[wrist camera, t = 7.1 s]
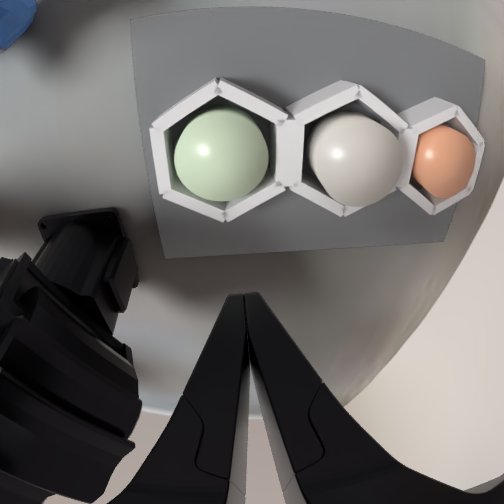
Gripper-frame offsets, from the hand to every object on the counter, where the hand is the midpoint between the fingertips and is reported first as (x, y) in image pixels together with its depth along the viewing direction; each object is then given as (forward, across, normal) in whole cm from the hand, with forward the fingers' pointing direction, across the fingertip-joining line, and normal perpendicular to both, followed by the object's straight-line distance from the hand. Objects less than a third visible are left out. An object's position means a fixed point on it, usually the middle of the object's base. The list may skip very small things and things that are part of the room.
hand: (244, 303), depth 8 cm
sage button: (+9, +1, -2) cm, 9 cm away
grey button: (+8, -5, -2) cm, 10 cm away
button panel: (+10, -6, -2) cm, 12 cm away
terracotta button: (+9, -11, -2) cm, 14 cm away
